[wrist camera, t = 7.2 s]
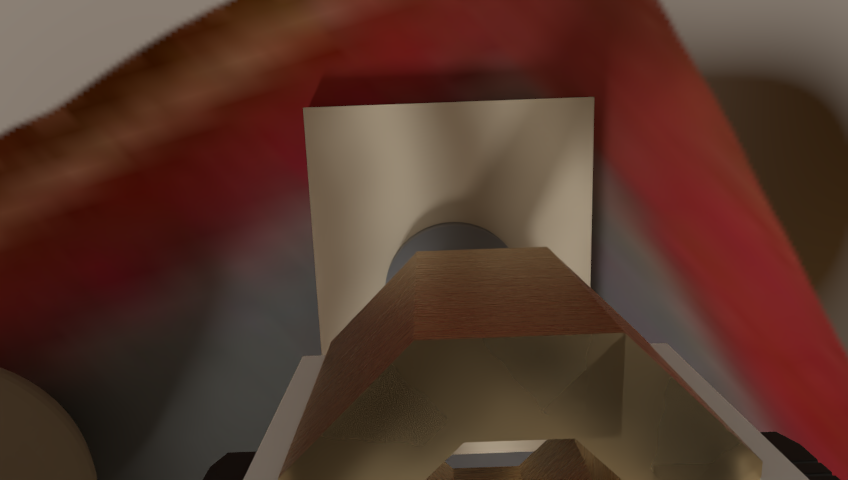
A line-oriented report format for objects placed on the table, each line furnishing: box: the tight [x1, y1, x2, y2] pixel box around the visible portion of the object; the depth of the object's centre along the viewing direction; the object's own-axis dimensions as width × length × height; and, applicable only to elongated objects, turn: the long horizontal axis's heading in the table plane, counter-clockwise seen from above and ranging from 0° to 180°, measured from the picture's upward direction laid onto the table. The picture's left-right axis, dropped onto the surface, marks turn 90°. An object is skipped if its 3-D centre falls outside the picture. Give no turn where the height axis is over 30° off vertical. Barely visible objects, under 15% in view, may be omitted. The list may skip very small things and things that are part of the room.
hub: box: [303, 97, 594, 455], centre depth 24 cm, size 12×16×8 cm
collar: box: [278, 247, 763, 480], centre depth 13 cm, size 8×8×6 cm
